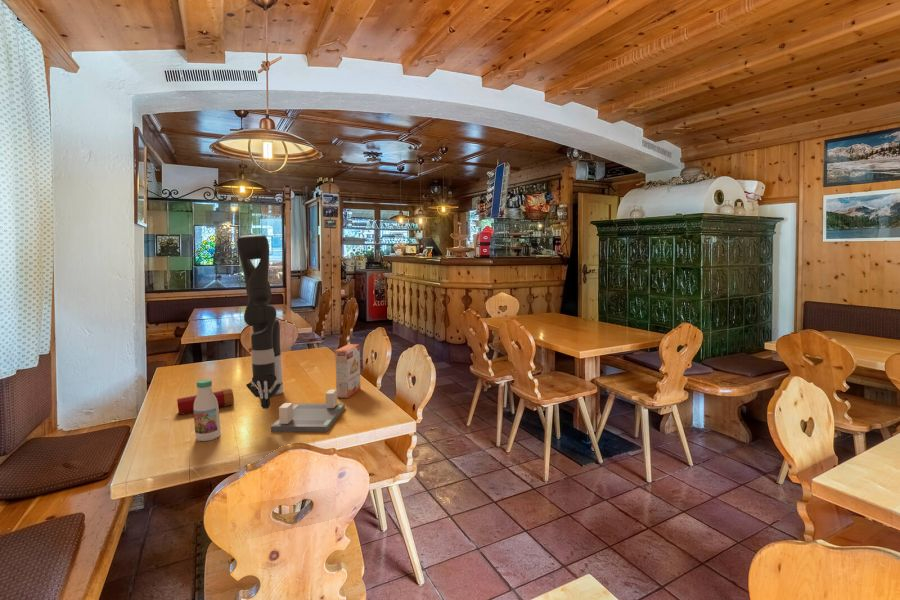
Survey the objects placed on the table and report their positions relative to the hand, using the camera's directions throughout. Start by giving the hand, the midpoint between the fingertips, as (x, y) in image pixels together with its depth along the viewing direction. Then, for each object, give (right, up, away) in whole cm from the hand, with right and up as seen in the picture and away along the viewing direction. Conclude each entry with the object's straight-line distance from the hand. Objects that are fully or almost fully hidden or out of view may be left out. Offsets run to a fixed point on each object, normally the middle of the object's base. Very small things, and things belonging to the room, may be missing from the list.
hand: (266, 408), depth 171 cm
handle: (+20, -3, +16) cm, 26 cm away
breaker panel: (+13, -6, +8) cm, 17 cm away
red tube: (-32, -6, +21) cm, 39 cm away
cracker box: (+22, -3, +39) cm, 45 cm away
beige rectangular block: (+7, -5, +1) cm, 9 cm away
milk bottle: (-17, -9, -7) cm, 21 cm away
